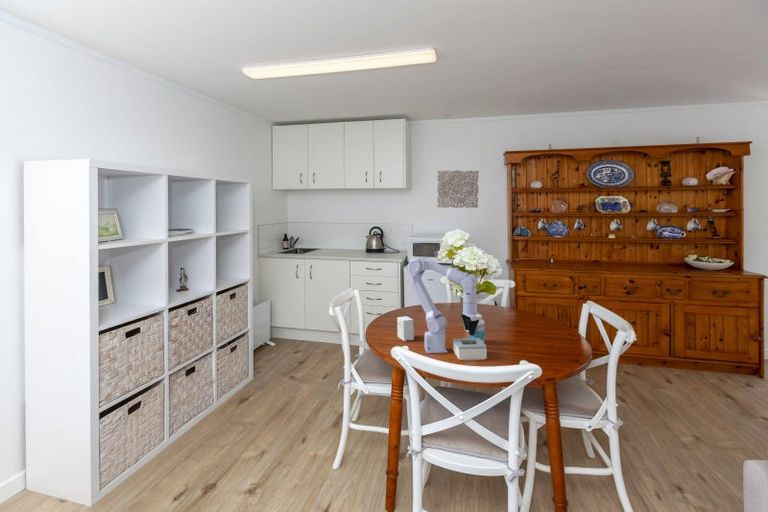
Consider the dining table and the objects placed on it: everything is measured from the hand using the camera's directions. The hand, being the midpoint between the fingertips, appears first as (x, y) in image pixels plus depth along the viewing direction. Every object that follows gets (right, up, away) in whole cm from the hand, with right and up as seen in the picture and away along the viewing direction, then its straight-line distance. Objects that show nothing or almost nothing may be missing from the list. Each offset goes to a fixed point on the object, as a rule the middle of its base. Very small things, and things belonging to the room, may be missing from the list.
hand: (469, 332), depth 185 cm
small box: (-27, -8, +27) cm, 39 cm away
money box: (0, -10, +1) cm, 10 cm away
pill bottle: (+7, -8, +19) cm, 22 cm away
